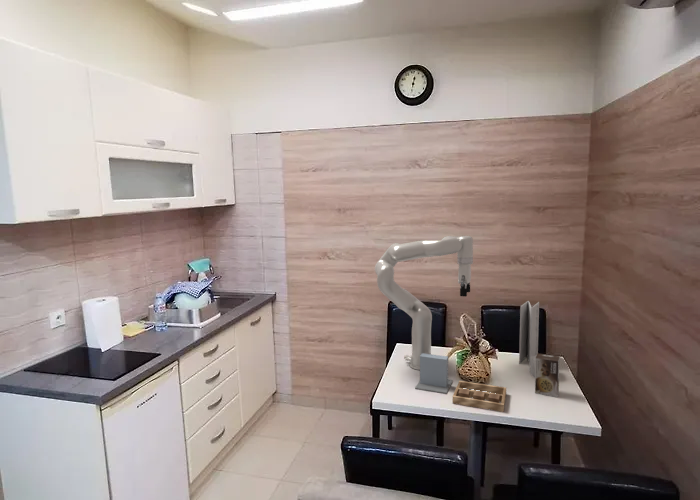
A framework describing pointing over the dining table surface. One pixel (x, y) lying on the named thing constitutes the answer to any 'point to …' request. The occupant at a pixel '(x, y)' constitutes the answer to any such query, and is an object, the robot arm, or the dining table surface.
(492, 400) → the offcut
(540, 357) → the cookie box
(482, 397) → the offcut
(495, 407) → the tray
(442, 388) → the mat
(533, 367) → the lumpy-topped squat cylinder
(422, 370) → the panel
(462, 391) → the offcut
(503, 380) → the dining table surface
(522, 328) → the brochure
